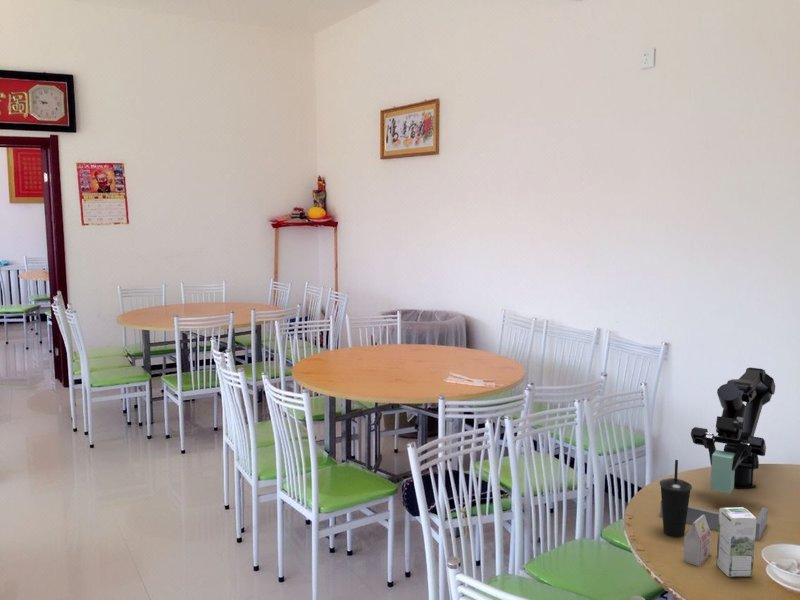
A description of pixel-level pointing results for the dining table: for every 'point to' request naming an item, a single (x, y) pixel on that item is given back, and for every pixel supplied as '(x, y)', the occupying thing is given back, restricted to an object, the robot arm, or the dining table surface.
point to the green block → (722, 471)
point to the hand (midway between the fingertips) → (722, 467)
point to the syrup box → (736, 542)
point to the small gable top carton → (697, 542)
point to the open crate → (713, 519)
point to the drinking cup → (674, 504)
